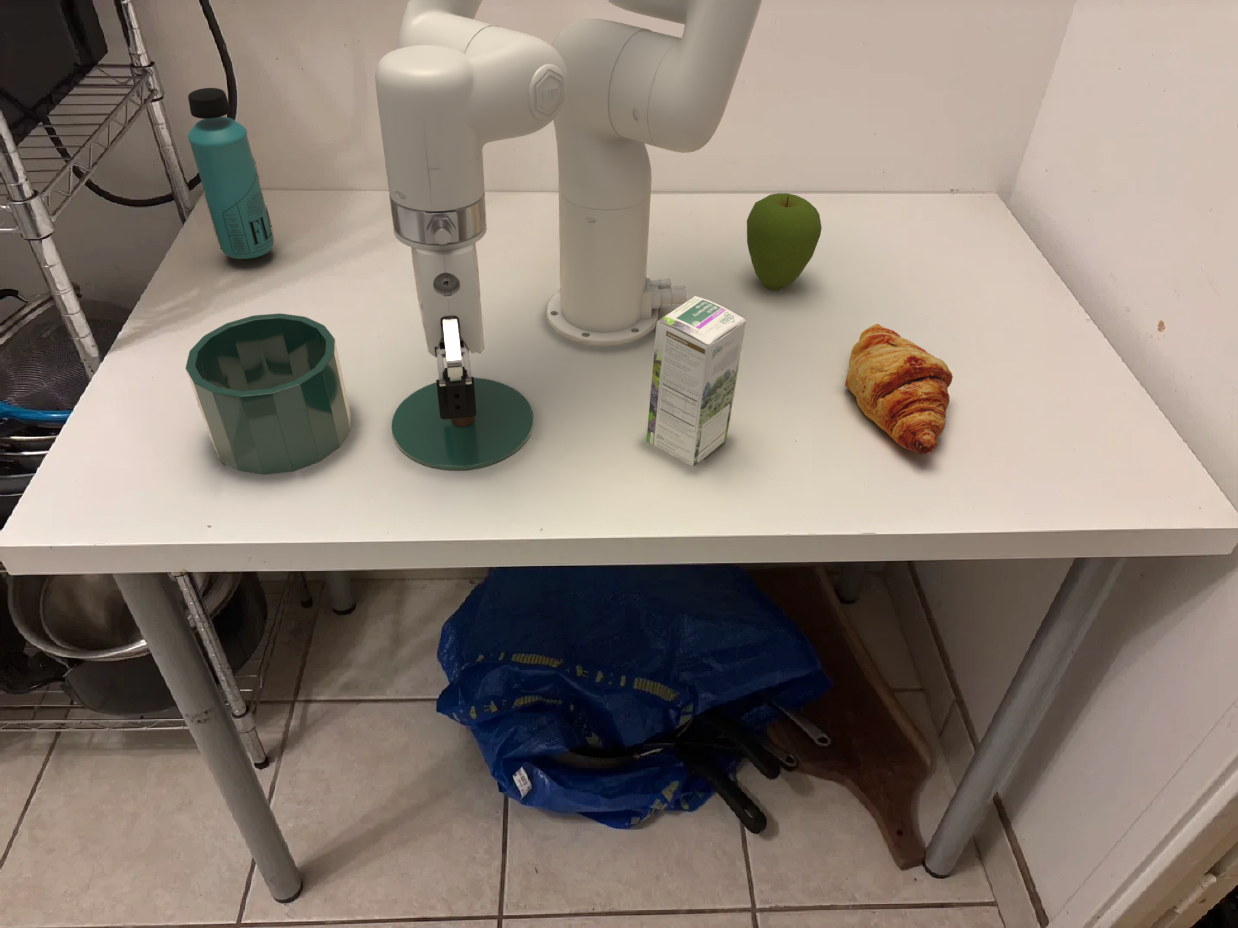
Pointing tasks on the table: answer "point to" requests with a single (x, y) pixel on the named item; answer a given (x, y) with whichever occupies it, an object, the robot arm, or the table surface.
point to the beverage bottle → (229, 177)
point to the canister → (270, 392)
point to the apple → (782, 238)
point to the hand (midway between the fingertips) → (454, 384)
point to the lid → (463, 427)
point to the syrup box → (694, 379)
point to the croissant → (900, 387)
